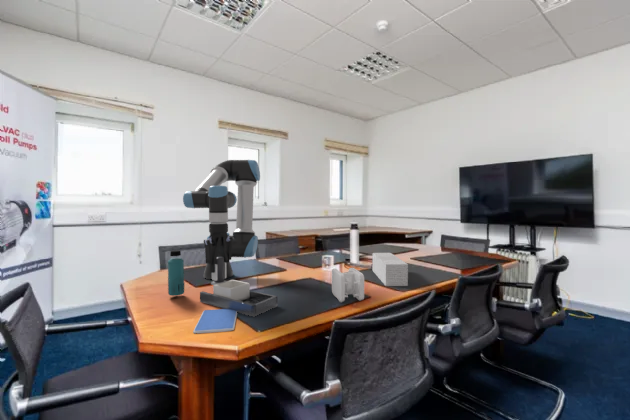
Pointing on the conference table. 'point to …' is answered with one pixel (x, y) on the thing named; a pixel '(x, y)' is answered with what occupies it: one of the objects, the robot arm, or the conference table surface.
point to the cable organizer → (347, 284)
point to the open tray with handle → (229, 285)
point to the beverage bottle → (175, 274)
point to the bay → (242, 302)
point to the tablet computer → (216, 321)
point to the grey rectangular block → (390, 269)
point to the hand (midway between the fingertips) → (219, 278)
